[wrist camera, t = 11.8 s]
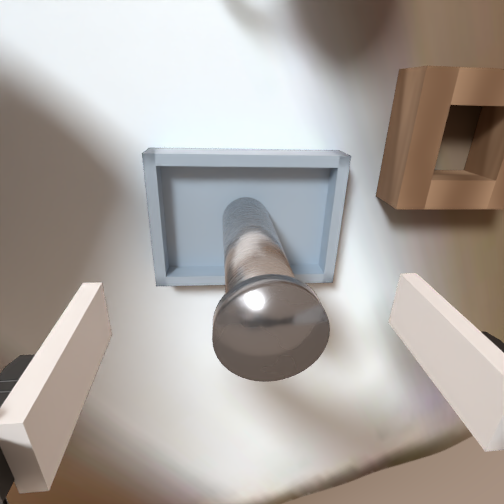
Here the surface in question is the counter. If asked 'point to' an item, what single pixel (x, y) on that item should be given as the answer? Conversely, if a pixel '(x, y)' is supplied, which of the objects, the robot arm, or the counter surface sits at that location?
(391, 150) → the socket block
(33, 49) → the counter surface
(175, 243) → the tray
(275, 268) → the pin
